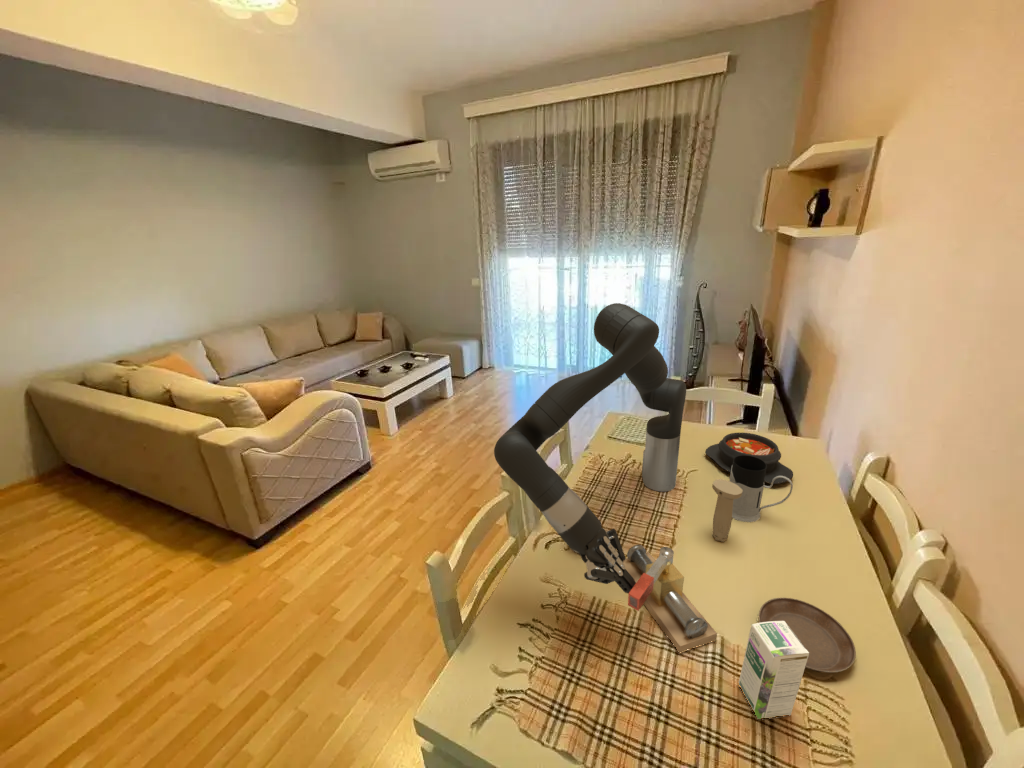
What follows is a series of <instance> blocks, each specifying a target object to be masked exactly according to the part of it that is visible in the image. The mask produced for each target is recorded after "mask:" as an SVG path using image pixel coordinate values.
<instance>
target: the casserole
mask: <svg viewBox="0 0 1024 768" xmlns="http://www.w3.org/2000/svg"><path fill="white" fill-rule="evenodd" d="M705 455H706V456H708V457H709V458H710V459H712V460H713V461H714V463H716V464H717V465H718V466H719V467H720V468H721V469H723V470H725V471H726V472H728V473H730V474H731V467H732V465H733V459H734V458H735V457H736V456H740V455H748V456H753V457H756V458H759V459H761V460H763V461H764V462H765V463H766V465H767V468H766V473H765V479H764V483H767V484H771V482H772V480H773V478H774V477H776V476H785V477H787V478H789V479H790V480H792V478H793V477H794V472H793V470H792V469H791V468H789V467H787V466H785V464H783V463H781V462H780V460H781V459H782V453H781V451H780V450H779V447H778V445H777V444H776V442H774V441H773V440H772V439H769V438H768V437H765V436H763V435H759V434H756V433H750V432H731V433H728V434H726V435H725V436H724V437H723V438H722V439H721V440H720V441H719V442H718V443H714V444H712V445H710V446H709V447H707V448H706V449H705ZM786 482H789V481H788V480H786V479H784V478H777V479H775V480H774V482H773V485H778V484H785V483H786Z"/></svg>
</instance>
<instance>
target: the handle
mask: <svg viewBox="0 0 1024 768" xmlns="http://www.w3.org/2000/svg"><path fill="white" fill-rule="evenodd" d="M711 488H712V489H713V491H714V492H715V493H716V494H717V497H716V498H717V500H716V504H715V507H714V508H715V509H714V513H713V518H712V536H713V538H714V540H715V541H716V542H717V541H718V542H721V543H724V542H725V541H727V540H728V538H729V534H730V530H731V527H732V521H733V518H732V510H733V500H734V499H737V498H740V497H741V496H742V491H743V490H742V489H741V488H740V487H739V486H738V485H736V484H734V483H732V482H730V481H729V480H727V479H723V478H722V479H721V478H718V479H715V480H713V481H712V486H711Z"/></svg>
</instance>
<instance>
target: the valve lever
mask: <svg viewBox="0 0 1024 768" xmlns="http://www.w3.org/2000/svg"><path fill="white" fill-rule="evenodd" d="M658 553H659V555H658V556H657V558H656V559H655V560H656V561H655V562H654V564H653V565H652V566H651V568H650V569H649V571H648V572H647V573H643V574H642V576H641V577H640V578H639V580H638V581H637V583H636V584H635V585H634V587H633V588H632V589H631V591H630V592H629V594H628V593H627V594H628V595H627V597H628V598H627V606H629V607H631V608H632V609H633V610H636V611H637V612H639V611H640V610H641V608H642V607H643V605H644V602H645V601H646V599H647V598H648V596H649V595H650V593H651V592H652V590H653V585H654V583H655V581H656V580H657V579H658V577H659V576H660V574H661V573H662V571H663V570H664V568H665V567H666V566H667V565H671V564H673V563H674V555H675V554H674V550H673V549H672V548H671V547H668V546H662V547H660V549H659V552H658Z"/></svg>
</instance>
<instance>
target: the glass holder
mask: <svg viewBox="0 0 1024 768" xmlns="http://www.w3.org/2000/svg"><path fill="white" fill-rule="evenodd" d="M766 468H767V465H766V463H765V462H764V461H763V460H761V459H759V458H756V457H753V456H748V455H740V456H736V457H735V458H734V459H733V465H732V467H731V473H730V475H729V480H728V481H730V482H732V483H734V484H736V485H738V486H739V487H740V488H741V489H742V490H743V491H742V496H741V497H740V498H737V499H734V500H733V510H732V519H734V520H736V521H738V522H743V523H753V522H757V521H758V520H760V518H761V511H762V510H763V509H766V508H771V507H775V506H777V505H780V504H781V505H782V503H784V502H786V501H787V500H788V498H789V497H790V496H791V494H792V491H793V485H794V484H793V482H792V479H789V478H787V477H785V476H776V477H774V478H773V480H772V482H771V483H770V485H765V482H764V479H765V473H766ZM777 478H784V479H786V480H788V481H787V482H789V484H790V490H789V492H788V493H787V495H786V496H785V497H784V498H783V499H781V500H780V501H778V502H774V503H771V504H767V505H764V506H761V505H762V499H763V498H762V497H763V493H764V488H765V489H771V488H772V487H773V485H774V484H773V482H774V480H775V479H777Z"/></svg>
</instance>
